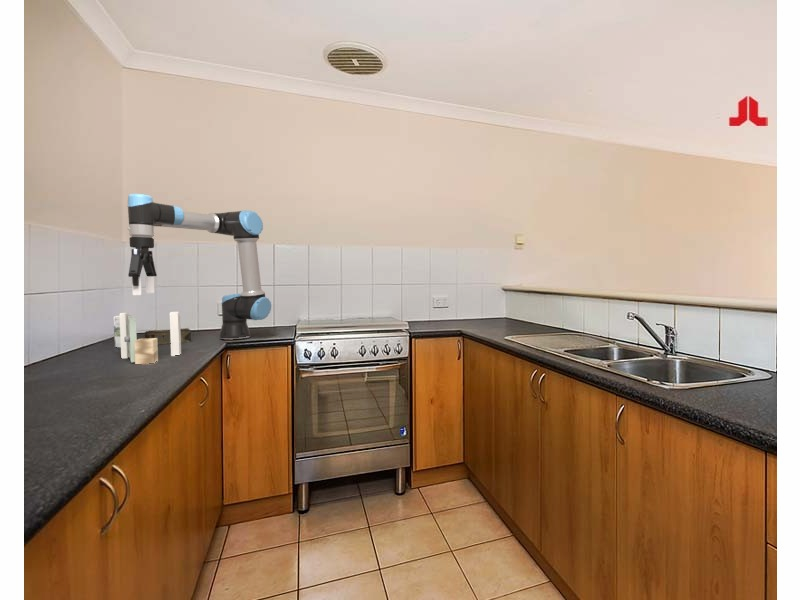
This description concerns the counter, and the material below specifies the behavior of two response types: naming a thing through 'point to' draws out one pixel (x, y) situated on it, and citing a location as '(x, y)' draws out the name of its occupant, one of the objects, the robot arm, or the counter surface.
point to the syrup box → (117, 330)
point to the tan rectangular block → (146, 351)
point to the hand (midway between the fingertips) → (144, 294)
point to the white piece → (174, 334)
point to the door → (131, 337)
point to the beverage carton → (168, 335)
